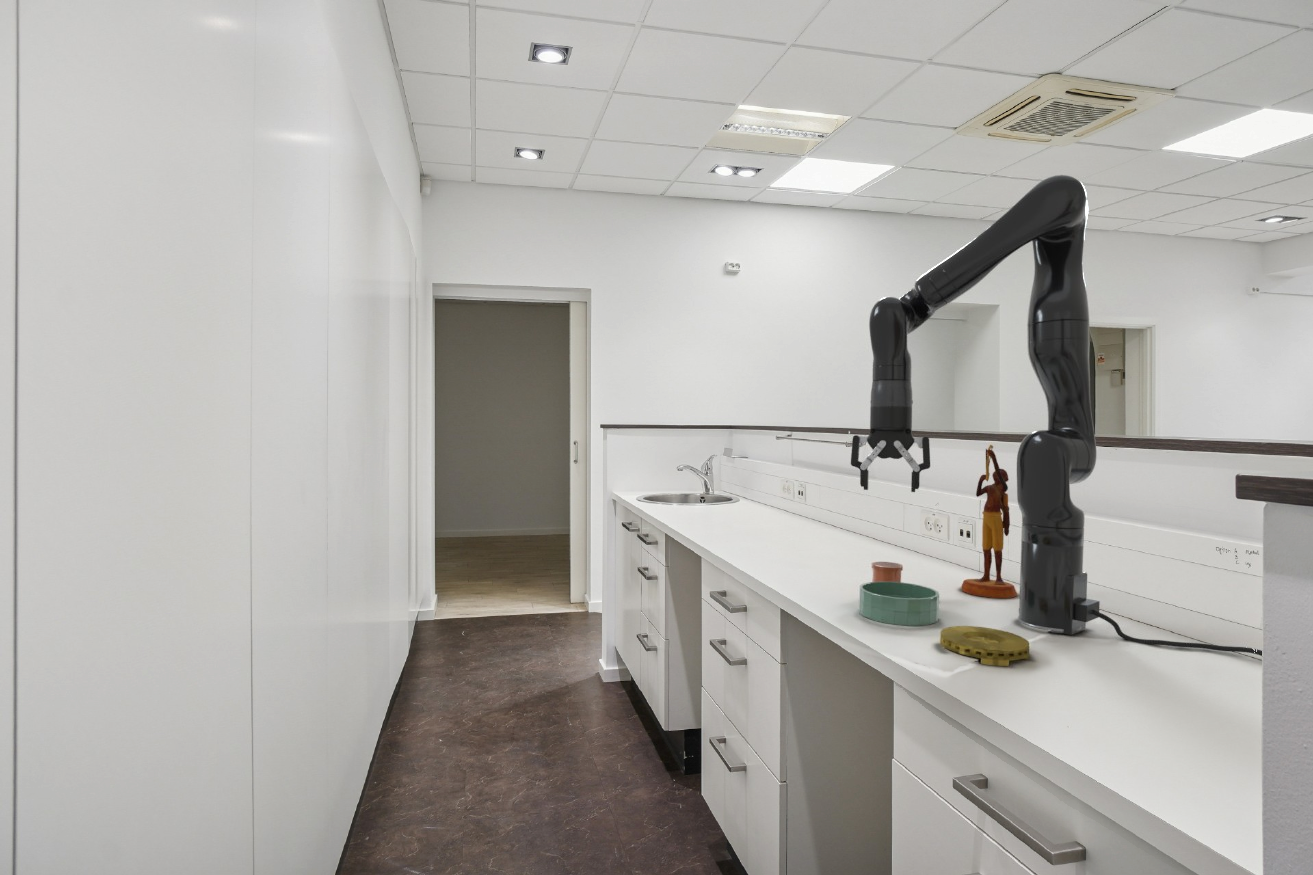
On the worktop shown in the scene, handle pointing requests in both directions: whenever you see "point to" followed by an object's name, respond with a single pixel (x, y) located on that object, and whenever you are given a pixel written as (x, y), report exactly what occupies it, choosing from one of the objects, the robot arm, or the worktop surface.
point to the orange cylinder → (886, 571)
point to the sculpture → (992, 533)
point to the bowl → (899, 603)
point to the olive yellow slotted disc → (985, 644)
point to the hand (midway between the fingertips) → (889, 490)
